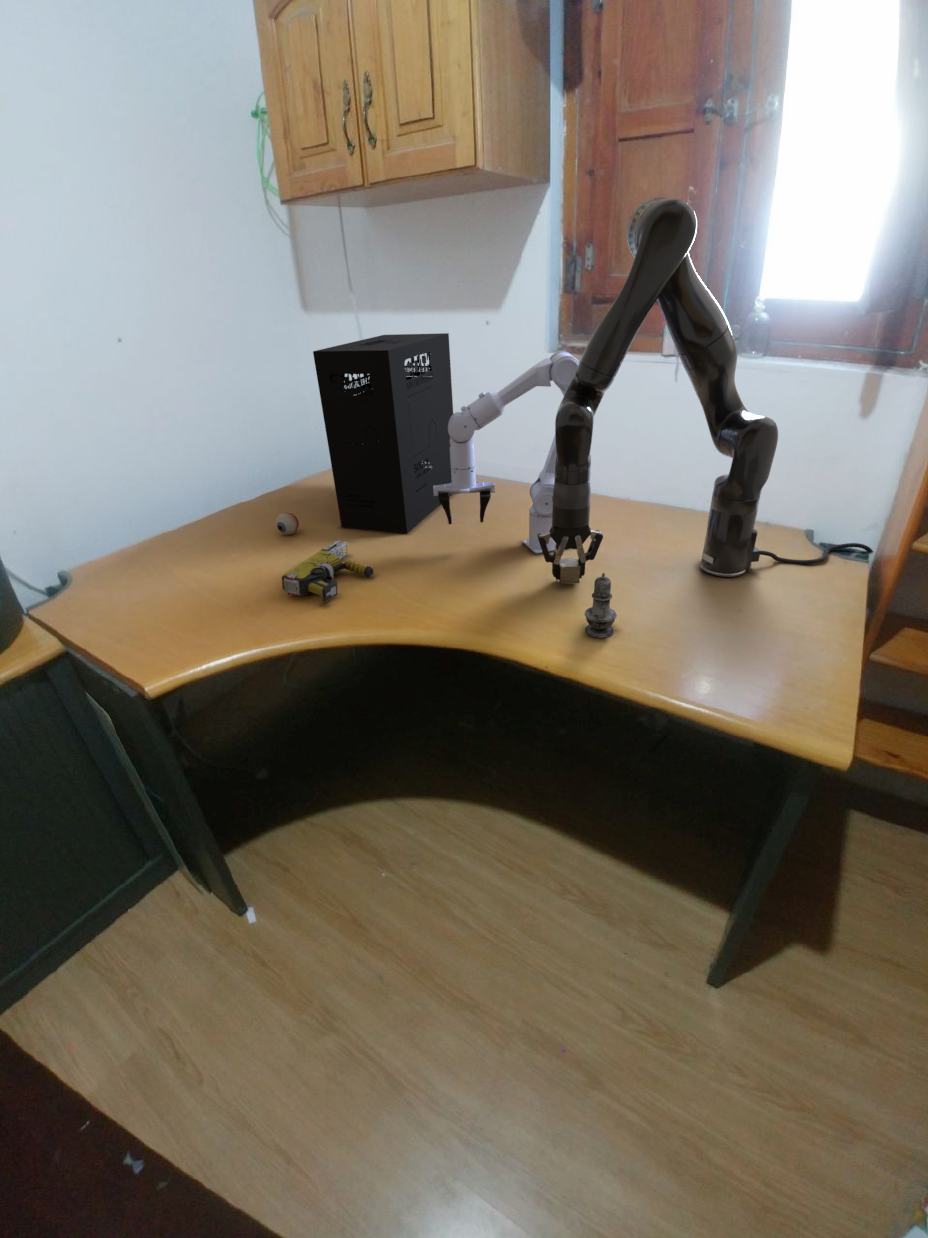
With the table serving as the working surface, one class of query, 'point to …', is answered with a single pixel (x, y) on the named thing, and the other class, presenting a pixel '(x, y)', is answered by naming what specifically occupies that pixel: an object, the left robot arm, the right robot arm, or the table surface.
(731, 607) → the table surface
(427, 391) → the cardboard box
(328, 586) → the toy gun
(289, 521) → the eyeball
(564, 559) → the grey cube
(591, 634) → the grey stone finial
